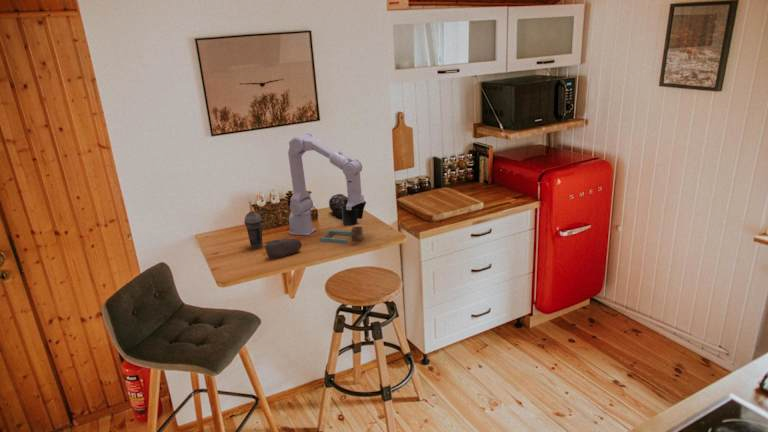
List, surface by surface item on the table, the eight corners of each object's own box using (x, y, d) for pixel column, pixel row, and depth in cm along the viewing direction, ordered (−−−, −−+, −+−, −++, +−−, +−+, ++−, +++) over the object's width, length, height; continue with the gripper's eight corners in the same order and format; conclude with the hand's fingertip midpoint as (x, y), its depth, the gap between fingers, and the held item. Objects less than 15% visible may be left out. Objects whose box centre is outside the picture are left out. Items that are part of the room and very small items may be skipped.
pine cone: (344, 222, 245) (342, 202, 242) (326, 213, 259) (324, 194, 256) (363, 217, 251) (361, 197, 247) (344, 209, 265) (342, 189, 261)
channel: (320, 241, 224) (319, 238, 224) (329, 233, 233) (329, 230, 232) (346, 243, 220) (345, 240, 220) (354, 235, 229) (354, 232, 228)
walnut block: (352, 241, 223) (351, 230, 221) (353, 237, 226) (352, 226, 225) (361, 241, 222) (360, 229, 220) (363, 237, 226) (362, 226, 224)
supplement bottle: (351, 226, 239) (349, 201, 235) (339, 224, 243) (337, 199, 239) (360, 222, 244) (358, 197, 241) (349, 219, 248) (347, 195, 244)
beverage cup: (250, 251, 217) (243, 205, 211) (246, 246, 224) (239, 201, 217) (267, 247, 221) (261, 202, 214) (263, 242, 227) (256, 198, 220)
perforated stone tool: (300, 249, 217) (298, 233, 215) (304, 253, 213) (302, 237, 211) (264, 257, 212) (262, 240, 209) (267, 261, 207) (265, 245, 205)
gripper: (356, 195, 208) (359, 227, 213) (369, 185, 221) (371, 216, 226) (340, 194, 211) (343, 226, 215) (354, 184, 224) (356, 215, 228)
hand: (356, 221), depth 221 cm, fingers open, 6 cm apart
